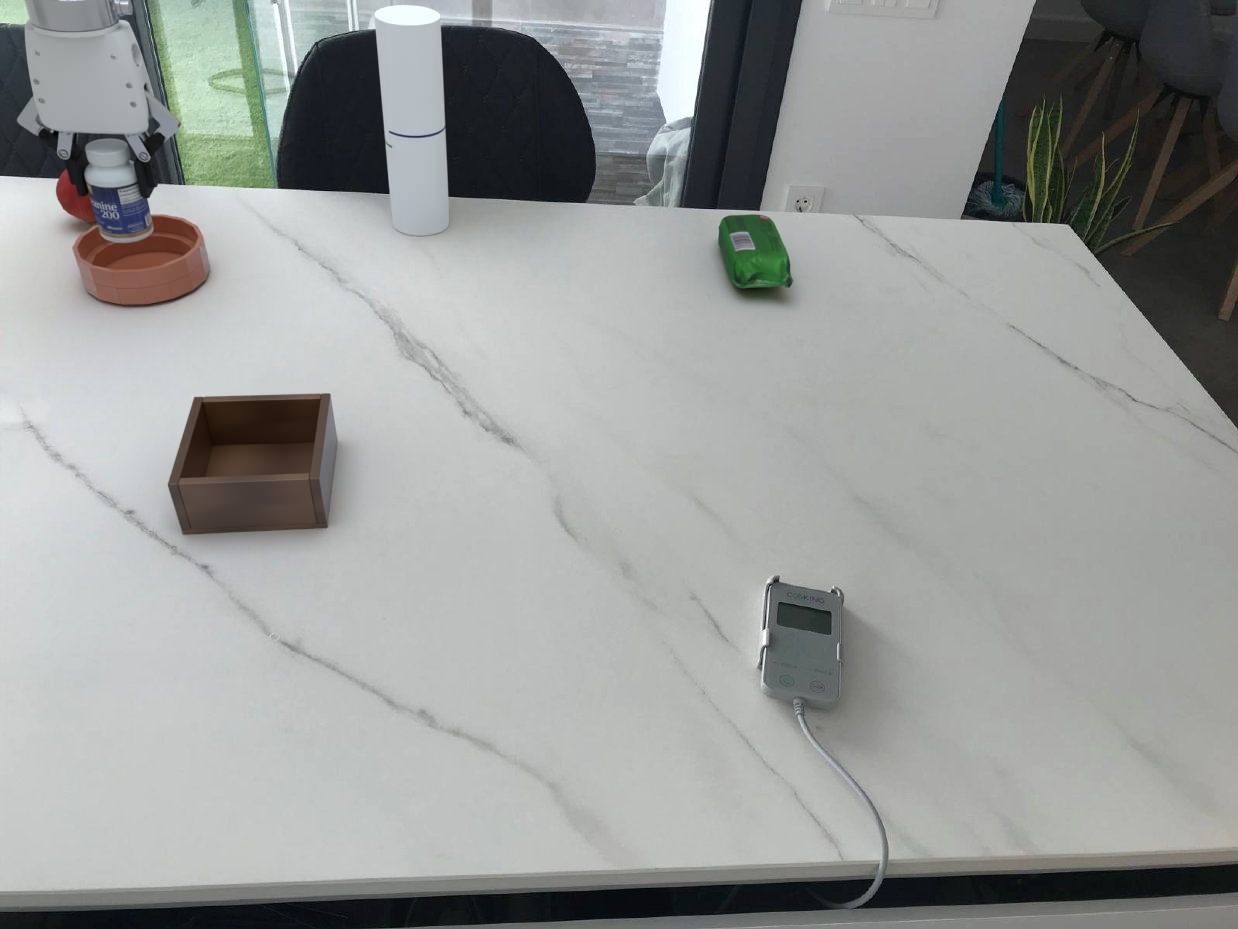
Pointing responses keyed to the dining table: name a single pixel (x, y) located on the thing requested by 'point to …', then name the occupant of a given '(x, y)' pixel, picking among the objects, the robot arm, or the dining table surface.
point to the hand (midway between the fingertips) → (117, 190)
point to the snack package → (754, 252)
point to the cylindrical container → (413, 117)
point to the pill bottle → (116, 192)
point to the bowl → (144, 263)
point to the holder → (255, 463)
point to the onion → (74, 200)
